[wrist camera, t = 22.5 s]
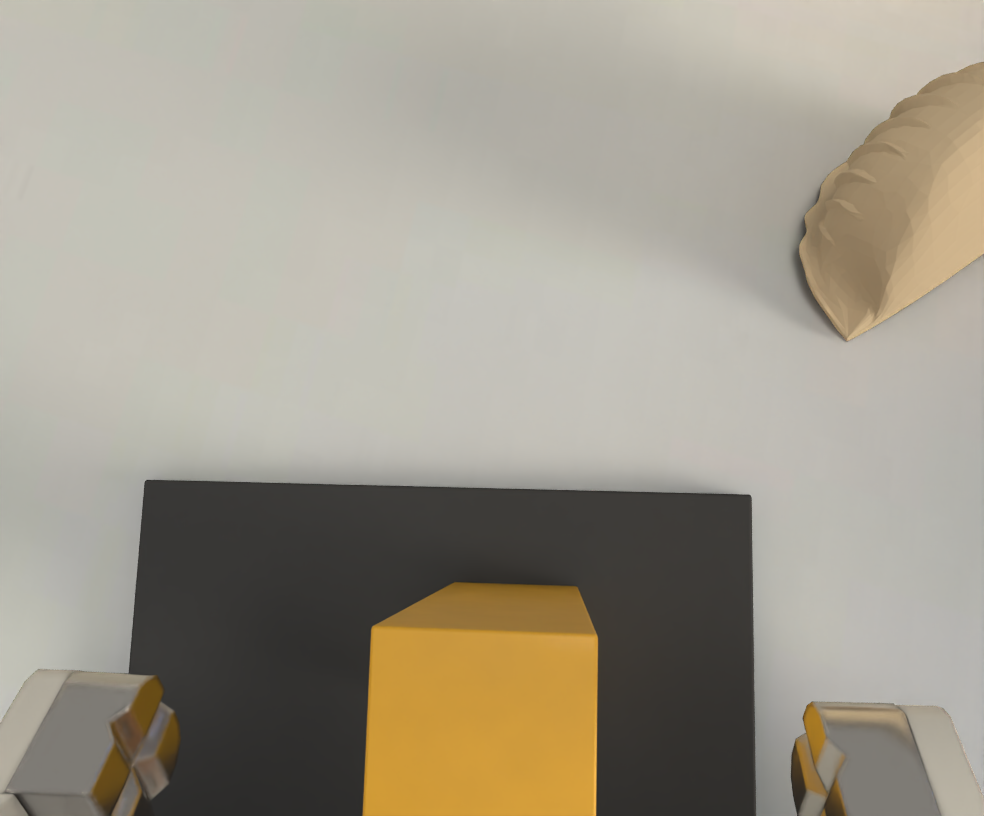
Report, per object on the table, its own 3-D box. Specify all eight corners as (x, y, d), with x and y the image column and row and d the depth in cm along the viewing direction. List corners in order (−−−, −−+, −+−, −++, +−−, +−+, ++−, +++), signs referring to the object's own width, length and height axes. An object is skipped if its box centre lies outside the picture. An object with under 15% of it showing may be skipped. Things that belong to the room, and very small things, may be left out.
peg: (578, 586, 22) (598, 633, 12) (575, 716, 21) (595, 880, 11) (452, 581, 22) (371, 625, 12) (448, 711, 22) (359, 866, 12)
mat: (746, 495, 22) (751, 494, 22) (753, 993, 21) (759, 1007, 20) (154, 481, 24) (143, 479, 23) (115, 950, 22) (103, 962, 21)
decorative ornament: (751, 223, 23) (808, 134, 18) (1007, 61, 23) (1139, -75, 18) (839, 345, 23) (925, 290, 17) (1102, 178, 23) (1267, 72, 18)
